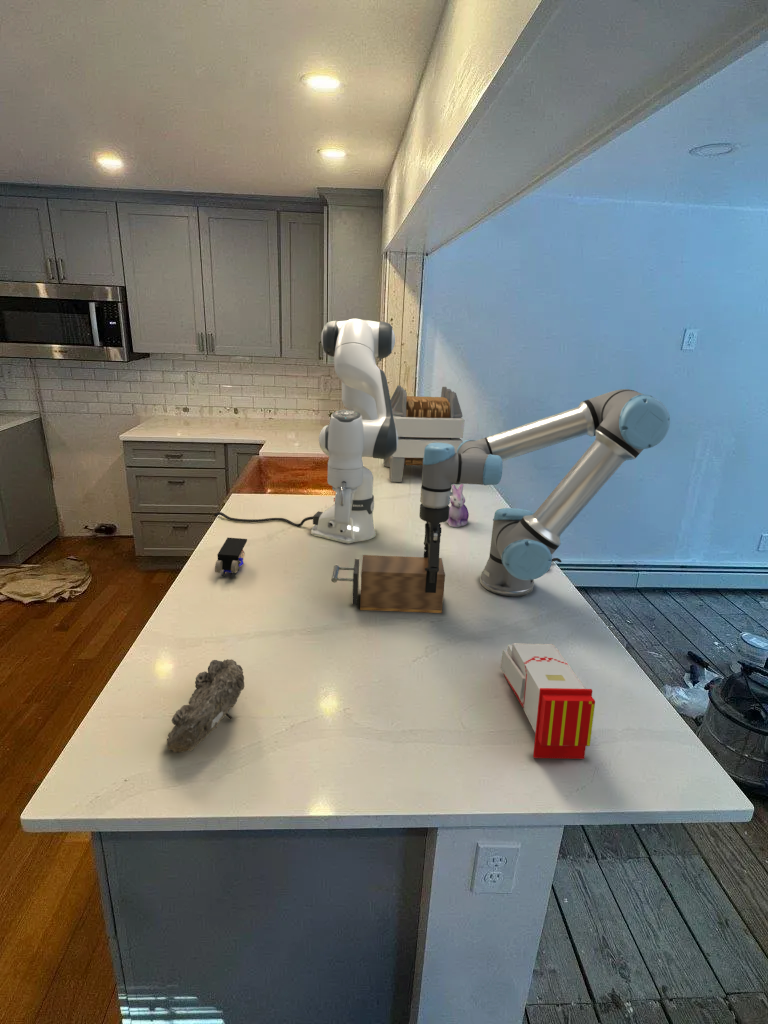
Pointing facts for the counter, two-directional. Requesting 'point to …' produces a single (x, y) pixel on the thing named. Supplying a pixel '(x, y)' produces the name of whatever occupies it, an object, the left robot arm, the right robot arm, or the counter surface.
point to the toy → (550, 699)
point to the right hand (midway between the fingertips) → (428, 582)
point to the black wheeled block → (230, 556)
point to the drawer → (354, 579)
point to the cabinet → (399, 584)
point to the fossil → (206, 705)
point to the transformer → (422, 427)
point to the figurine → (457, 508)
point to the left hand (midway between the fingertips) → (344, 528)
